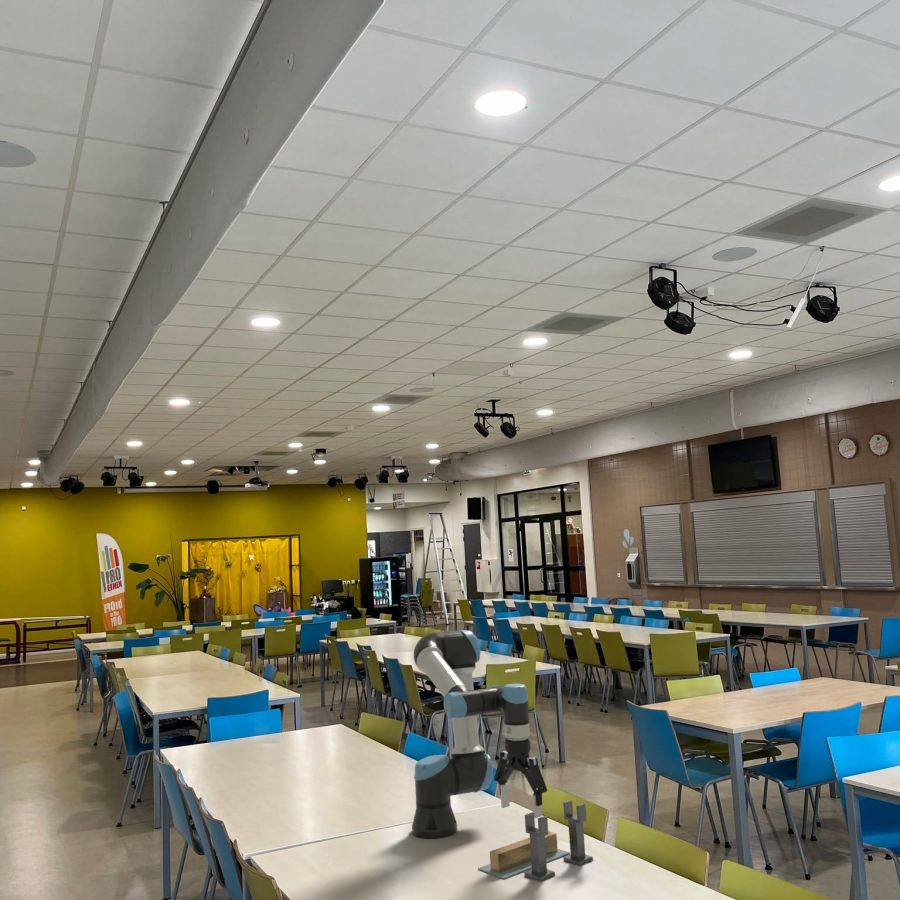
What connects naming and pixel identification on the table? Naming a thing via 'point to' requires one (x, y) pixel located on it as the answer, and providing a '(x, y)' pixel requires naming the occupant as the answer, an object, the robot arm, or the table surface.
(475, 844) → the table surface
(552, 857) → the mat
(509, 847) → the rail
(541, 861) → the rack
